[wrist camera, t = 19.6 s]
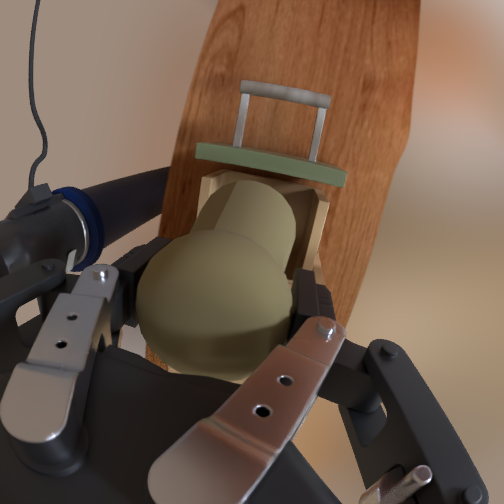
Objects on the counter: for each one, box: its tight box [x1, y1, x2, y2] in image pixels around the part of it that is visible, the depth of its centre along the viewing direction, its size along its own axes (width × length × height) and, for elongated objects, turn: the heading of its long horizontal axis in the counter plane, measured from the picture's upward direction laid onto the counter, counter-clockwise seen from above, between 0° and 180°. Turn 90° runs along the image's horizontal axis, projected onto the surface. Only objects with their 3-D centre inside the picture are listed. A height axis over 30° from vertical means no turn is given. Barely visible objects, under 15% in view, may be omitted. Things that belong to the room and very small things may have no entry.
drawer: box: [195, 80, 347, 280], centre depth 25 cm, size 19×11×7 cm, turn 170°
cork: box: [135, 181, 296, 382], centre depth 13 cm, size 6×6×11 cm
